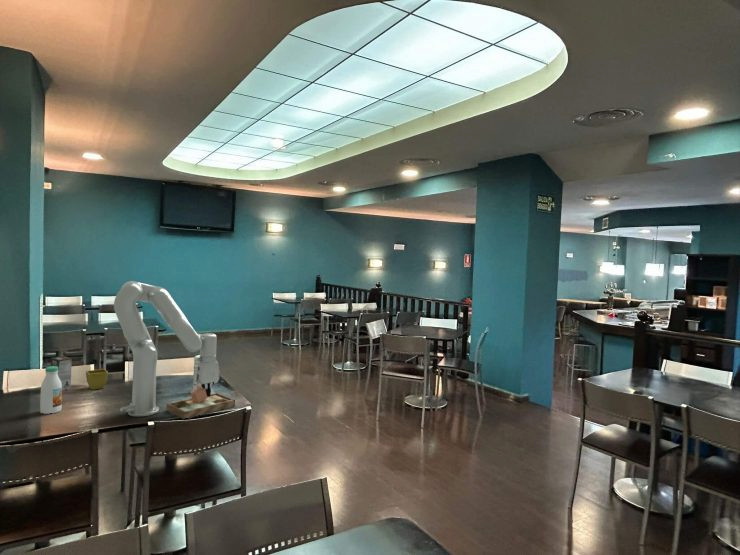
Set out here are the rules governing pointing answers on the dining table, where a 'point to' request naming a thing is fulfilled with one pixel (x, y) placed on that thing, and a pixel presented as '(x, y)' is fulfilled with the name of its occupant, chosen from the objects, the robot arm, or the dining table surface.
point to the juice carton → (195, 372)
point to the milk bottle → (51, 392)
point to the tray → (200, 406)
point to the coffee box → (63, 370)
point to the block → (198, 395)
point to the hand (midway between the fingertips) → (206, 396)
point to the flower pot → (96, 378)
